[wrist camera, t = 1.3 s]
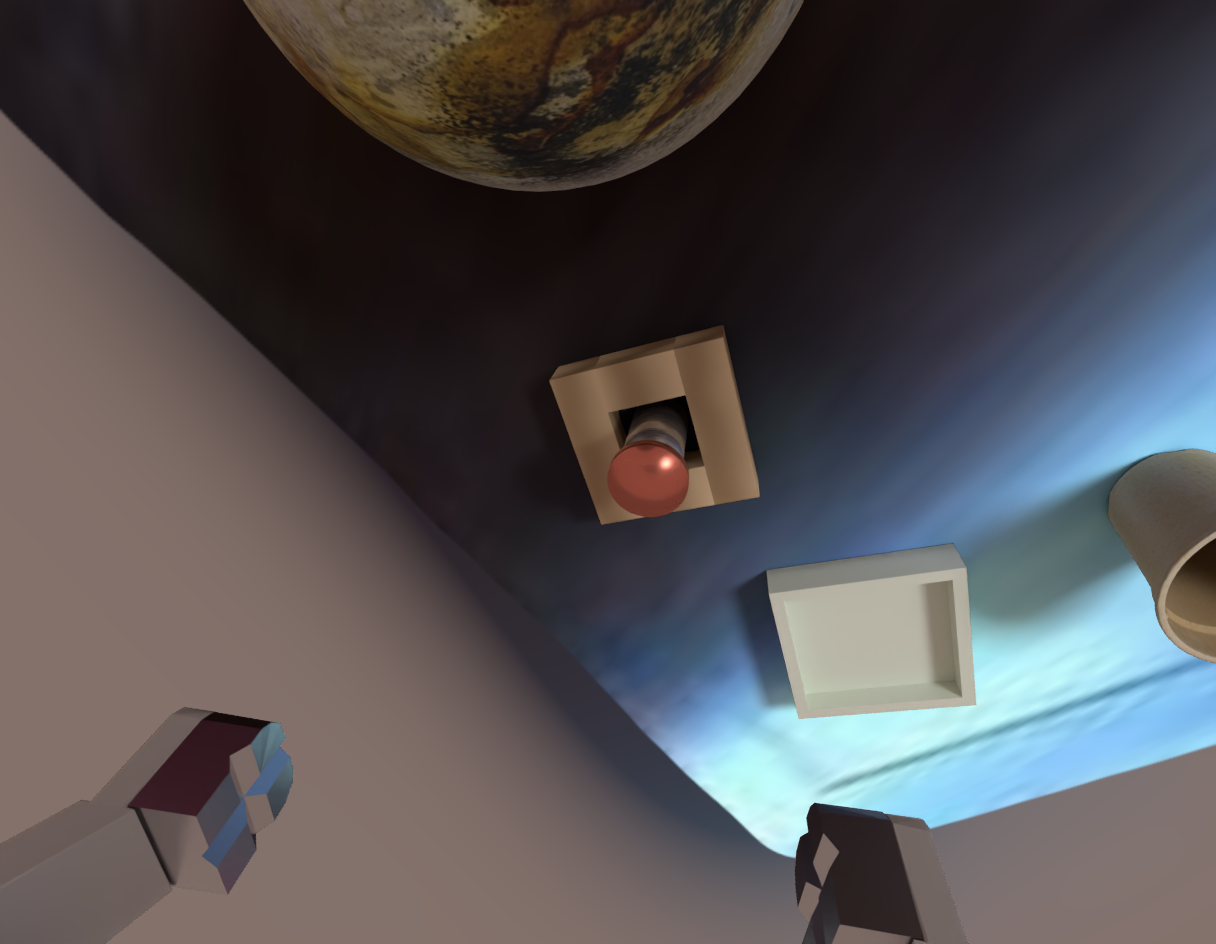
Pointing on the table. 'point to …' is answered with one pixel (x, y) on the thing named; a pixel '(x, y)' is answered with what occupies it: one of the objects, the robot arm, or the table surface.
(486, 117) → the decorative sphere
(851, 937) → the robot arm
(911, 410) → the table surface
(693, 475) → the block
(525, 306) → the table surface
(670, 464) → the pin
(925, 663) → the tray
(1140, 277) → the table surface
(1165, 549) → the flower pot
